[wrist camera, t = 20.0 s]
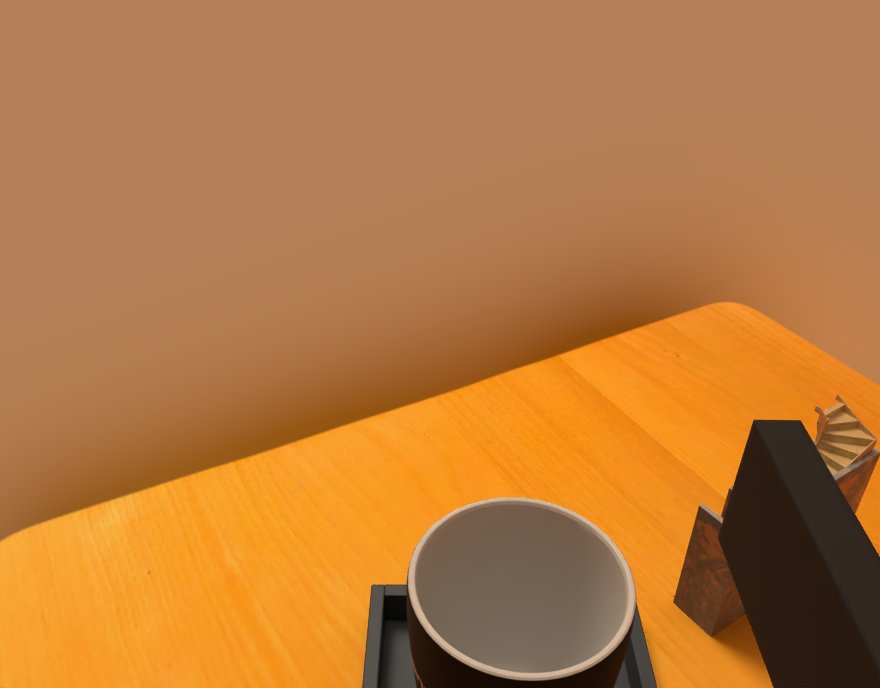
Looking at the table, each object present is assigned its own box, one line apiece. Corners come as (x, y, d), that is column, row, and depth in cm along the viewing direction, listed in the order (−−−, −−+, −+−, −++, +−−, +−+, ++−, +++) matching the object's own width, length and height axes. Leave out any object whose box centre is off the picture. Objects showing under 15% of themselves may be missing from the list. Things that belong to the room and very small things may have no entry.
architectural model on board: (795, 518, 49) (841, 392, 44) (839, 550, 47) (893, 421, 42) (665, 601, 44) (700, 469, 39) (709, 641, 42) (752, 507, 37)
